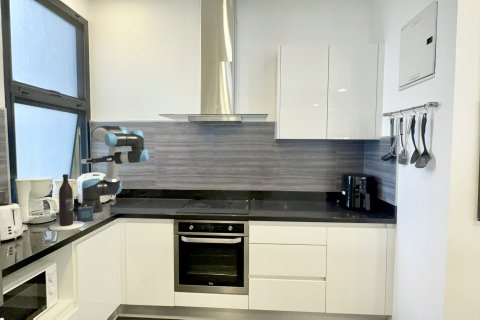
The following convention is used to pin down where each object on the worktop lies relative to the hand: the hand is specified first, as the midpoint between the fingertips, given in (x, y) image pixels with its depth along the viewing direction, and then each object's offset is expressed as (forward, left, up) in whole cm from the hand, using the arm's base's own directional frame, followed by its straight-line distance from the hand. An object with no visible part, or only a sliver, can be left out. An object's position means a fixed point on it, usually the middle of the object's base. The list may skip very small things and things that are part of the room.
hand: (86, 160), depth 184 cm
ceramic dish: (+3, -10, -39) cm, 41 cm away
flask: (-9, -3, -40) cm, 41 cm away
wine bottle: (+3, -11, -38) cm, 40 cm away
